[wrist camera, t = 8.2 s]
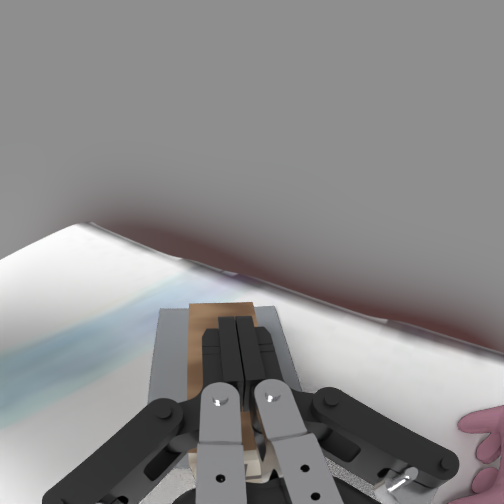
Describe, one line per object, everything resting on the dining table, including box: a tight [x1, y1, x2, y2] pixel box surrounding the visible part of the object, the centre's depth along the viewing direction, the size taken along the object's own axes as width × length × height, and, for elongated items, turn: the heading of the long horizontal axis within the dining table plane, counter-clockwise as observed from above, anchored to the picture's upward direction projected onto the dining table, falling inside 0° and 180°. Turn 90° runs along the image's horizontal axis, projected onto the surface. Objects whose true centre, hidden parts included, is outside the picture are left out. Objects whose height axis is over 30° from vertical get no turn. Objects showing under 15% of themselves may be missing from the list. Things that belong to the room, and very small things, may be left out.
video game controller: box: [447, 405, 504, 504], centre depth 11 cm, size 10×5×7 cm, turn 148°
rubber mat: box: [148, 306, 302, 468], centre depth 23 cm, size 17×12×1 cm
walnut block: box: [187, 302, 263, 483], centre depth 18 cm, size 5×5×13 cm
